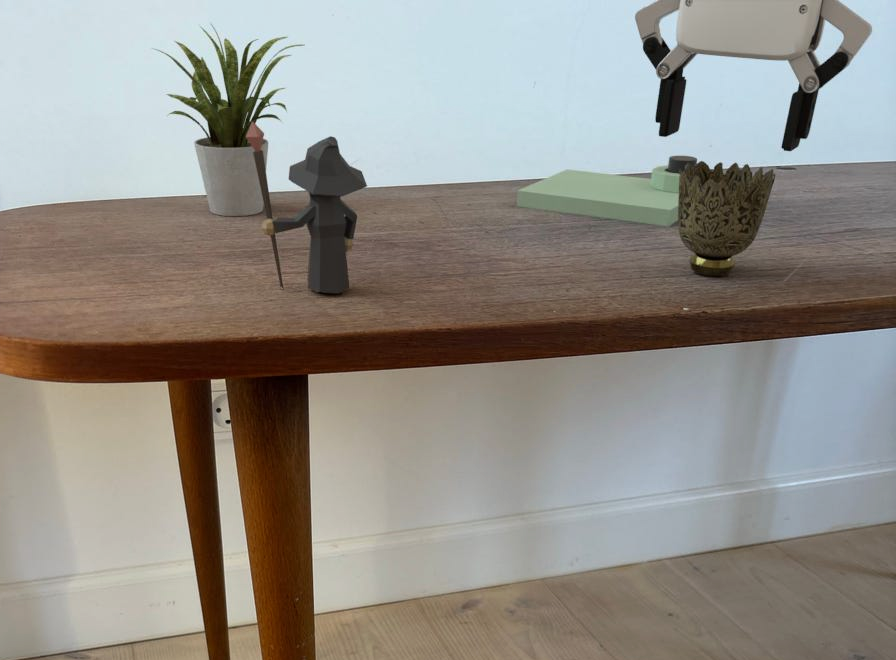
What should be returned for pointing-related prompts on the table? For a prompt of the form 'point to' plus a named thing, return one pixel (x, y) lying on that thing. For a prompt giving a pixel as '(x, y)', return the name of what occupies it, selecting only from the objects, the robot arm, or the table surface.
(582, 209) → the scale
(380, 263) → the table surface
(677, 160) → the button
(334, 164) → the wizard figurine
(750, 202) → the cup
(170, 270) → the table surface
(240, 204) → the house plant
